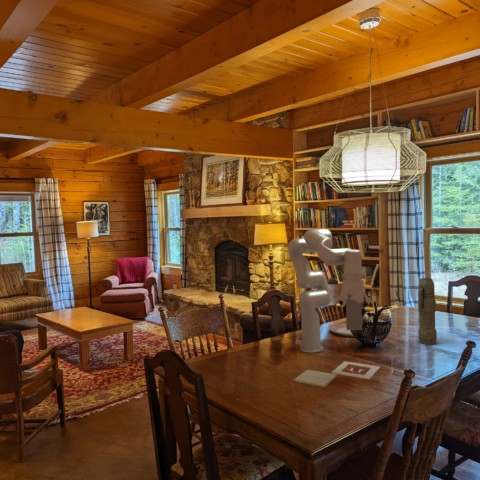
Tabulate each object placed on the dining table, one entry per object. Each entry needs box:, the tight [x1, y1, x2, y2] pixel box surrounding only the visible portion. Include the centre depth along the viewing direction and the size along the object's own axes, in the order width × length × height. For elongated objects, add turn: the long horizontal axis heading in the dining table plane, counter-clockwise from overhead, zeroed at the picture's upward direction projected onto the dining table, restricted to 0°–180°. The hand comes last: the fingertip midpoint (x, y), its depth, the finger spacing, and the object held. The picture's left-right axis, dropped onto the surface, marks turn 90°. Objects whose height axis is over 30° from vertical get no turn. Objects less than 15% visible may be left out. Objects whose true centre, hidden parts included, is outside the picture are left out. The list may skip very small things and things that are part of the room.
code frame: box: [331, 361, 381, 380], centre depth 198 cm, size 17×17×1 cm
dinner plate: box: [328, 322, 354, 337], centre depth 262 cm, size 28×27×3 cm
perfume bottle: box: [345, 295, 363, 330], centre depth 197 cm, size 7×7×18 cm
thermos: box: [417, 277, 438, 346], centre depth 234 cm, size 9×12×35 cm
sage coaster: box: [293, 369, 338, 388], centre depth 190 cm, size 14×14×1 cm
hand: (353, 315), depth 197 cm, fingers closed on perfume bottle, 6 cm apart
